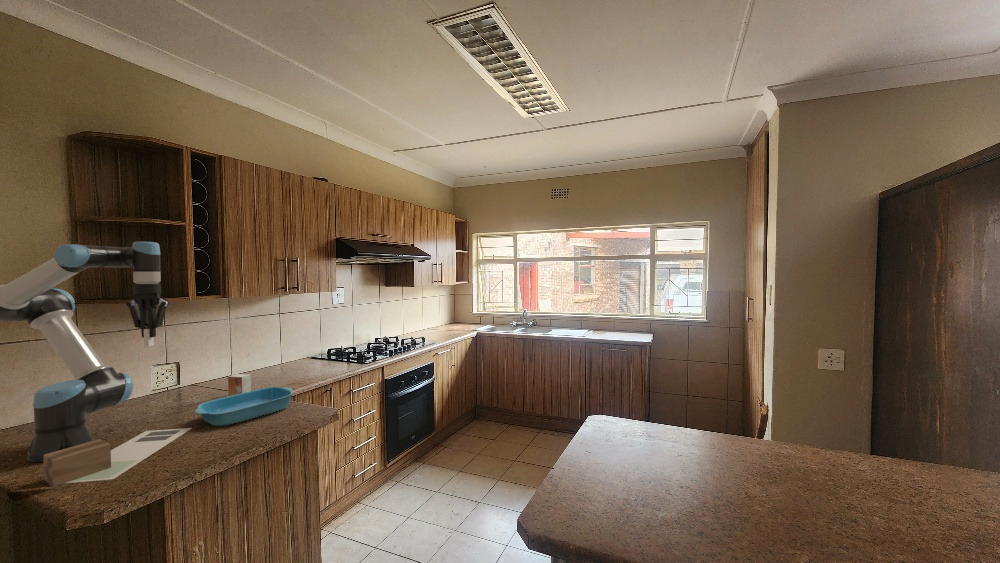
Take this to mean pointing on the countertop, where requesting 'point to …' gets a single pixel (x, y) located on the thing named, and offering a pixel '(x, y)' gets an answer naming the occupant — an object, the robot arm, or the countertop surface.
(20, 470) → the countertop surface
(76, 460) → the walnut block
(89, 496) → the countertop surface
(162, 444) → the board
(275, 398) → the casserole dish
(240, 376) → the small box
